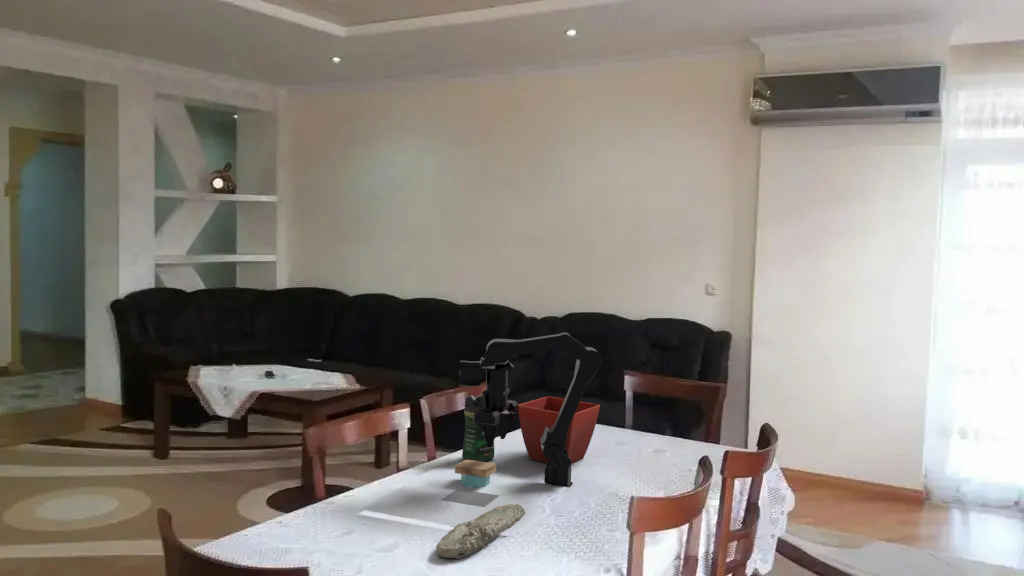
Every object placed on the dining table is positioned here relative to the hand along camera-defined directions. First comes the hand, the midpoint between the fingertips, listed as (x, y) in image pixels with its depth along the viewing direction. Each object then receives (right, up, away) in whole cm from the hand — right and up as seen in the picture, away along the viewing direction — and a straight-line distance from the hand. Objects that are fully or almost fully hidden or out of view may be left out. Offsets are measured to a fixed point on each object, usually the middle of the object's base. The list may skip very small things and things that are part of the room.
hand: (496, 442), depth 232 cm
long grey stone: (-2, -15, -37) cm, 40 cm away
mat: (-6, -13, -14) cm, 20 cm away
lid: (-6, -8, -2) cm, 10 cm away
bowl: (-6, -12, -1) cm, 13 cm away
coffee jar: (-6, -10, +26) cm, 28 cm away
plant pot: (+18, -10, +29) cm, 36 cm away
